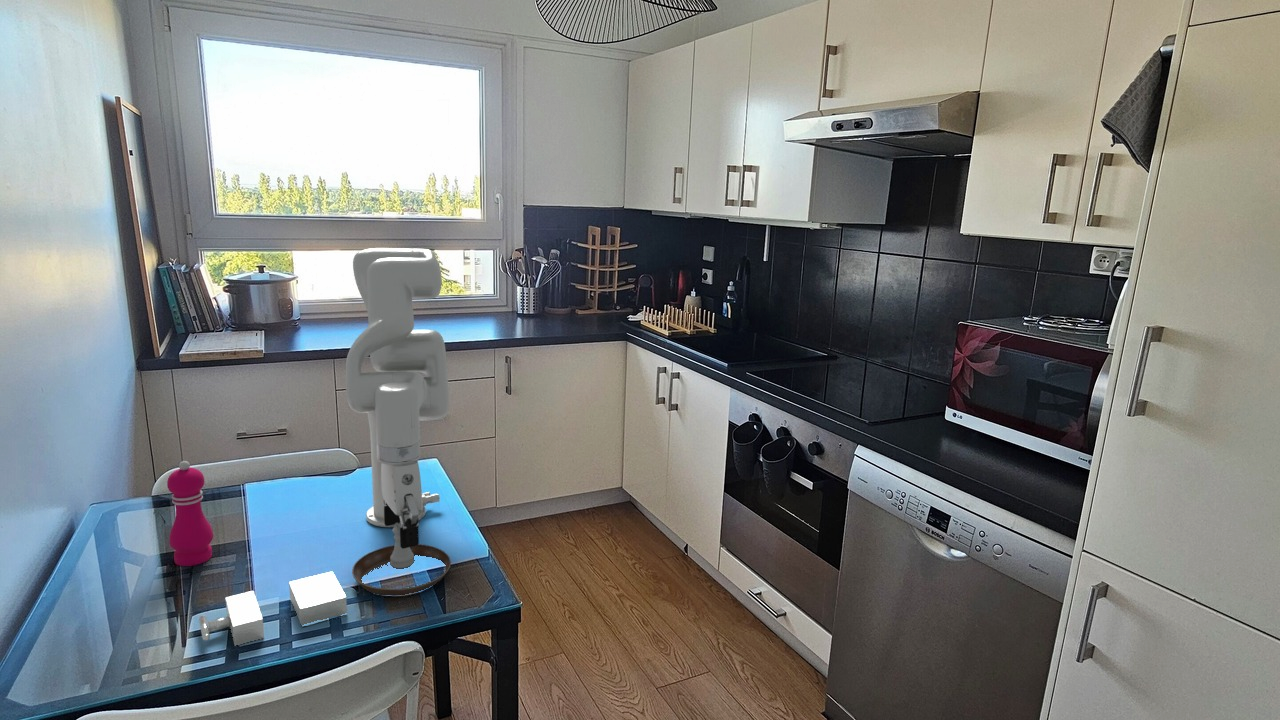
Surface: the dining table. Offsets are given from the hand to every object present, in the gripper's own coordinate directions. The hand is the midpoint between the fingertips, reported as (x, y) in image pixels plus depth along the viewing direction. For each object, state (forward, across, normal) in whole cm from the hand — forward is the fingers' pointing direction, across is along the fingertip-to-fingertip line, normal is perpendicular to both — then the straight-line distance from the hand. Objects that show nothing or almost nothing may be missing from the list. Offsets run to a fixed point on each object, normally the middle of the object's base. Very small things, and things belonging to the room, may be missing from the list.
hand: (401, 534), depth 137 cm
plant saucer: (+9, -1, 0) cm, 9 cm away
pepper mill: (+9, +26, +32) cm, 42 cm away
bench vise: (+8, -4, +22) cm, 24 cm away
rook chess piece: (+6, -1, 0) cm, 6 cm away
